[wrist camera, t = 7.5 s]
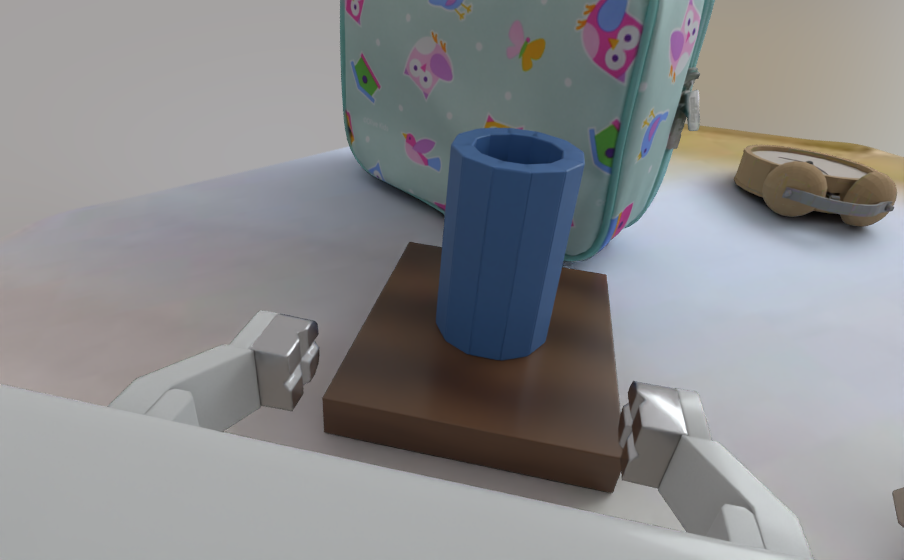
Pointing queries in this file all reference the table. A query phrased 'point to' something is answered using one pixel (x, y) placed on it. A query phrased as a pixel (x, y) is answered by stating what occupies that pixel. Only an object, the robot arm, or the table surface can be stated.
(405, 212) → the table surface
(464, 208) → the blue faceted hollow tube
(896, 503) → the toy character
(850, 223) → the alarm clock
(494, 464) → the platform
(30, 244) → the table surface
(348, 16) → the lunch box
